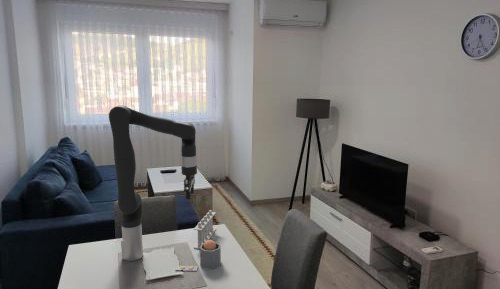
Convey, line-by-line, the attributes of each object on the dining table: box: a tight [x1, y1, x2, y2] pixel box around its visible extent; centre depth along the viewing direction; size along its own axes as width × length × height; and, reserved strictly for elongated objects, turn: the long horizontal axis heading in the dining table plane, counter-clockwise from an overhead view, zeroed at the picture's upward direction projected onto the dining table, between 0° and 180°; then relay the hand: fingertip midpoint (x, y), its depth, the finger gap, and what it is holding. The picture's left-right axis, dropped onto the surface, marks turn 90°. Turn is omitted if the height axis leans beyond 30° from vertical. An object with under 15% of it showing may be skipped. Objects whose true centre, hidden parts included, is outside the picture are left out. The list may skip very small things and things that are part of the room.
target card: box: [179, 265, 199, 272], centre depth 163 cm, size 10×4×1 cm, turn 88°
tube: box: [199, 241, 222, 270], centre depth 166 cm, size 9×9×9 cm
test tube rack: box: [193, 209, 217, 250], centre depth 192 cm, size 25×4×13 cm, turn 168°
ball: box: [204, 239, 217, 251], centre depth 167 cm, size 6×6×6 cm
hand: (190, 196), depth 173 cm, fingers open, 8 cm apart
